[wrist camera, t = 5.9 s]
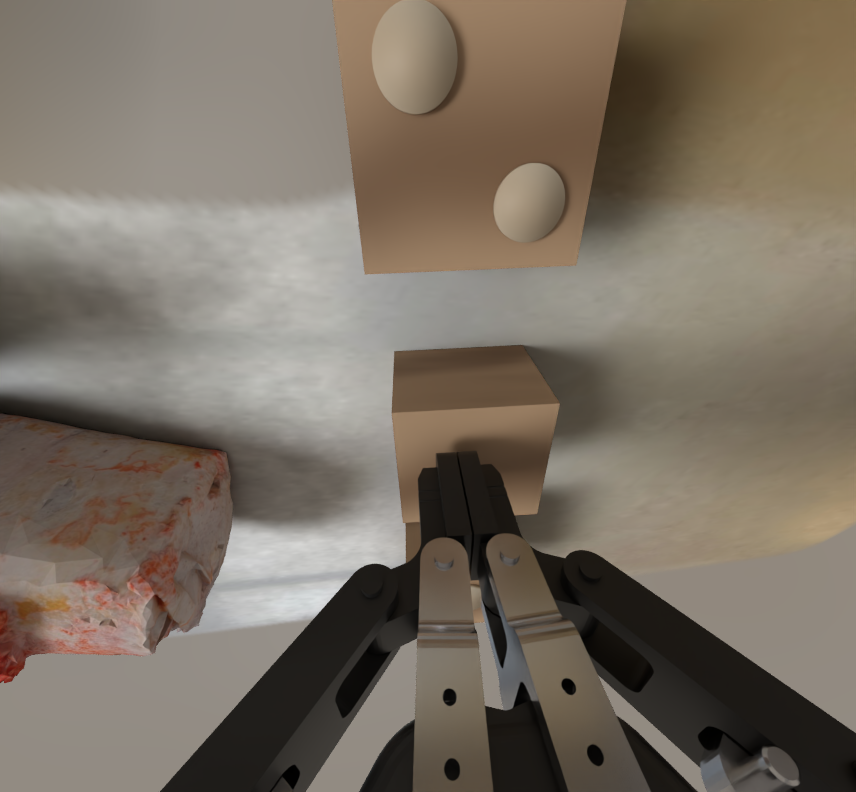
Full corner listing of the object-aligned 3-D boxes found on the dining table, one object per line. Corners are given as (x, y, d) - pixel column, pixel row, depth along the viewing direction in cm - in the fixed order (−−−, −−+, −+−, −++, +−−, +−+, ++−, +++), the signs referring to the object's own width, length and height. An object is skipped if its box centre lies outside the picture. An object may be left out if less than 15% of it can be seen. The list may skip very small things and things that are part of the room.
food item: (252, 438, 19) (138, 648, 11) (244, 531, 23) (157, 736, 15) (-68, 375, 16) (-554, 598, 8) (-14, 495, 20) (-299, 724, 12)
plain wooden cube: (394, 350, 17) (391, 412, 13) (521, 343, 17) (559, 403, 13) (402, 447, 20) (403, 522, 16) (509, 441, 20) (537, 514, 16)
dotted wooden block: (355, 30, 11) (324, -55, 7) (549, 26, 11) (642, -59, 7) (376, 241, 14) (364, 275, 10) (526, 235, 15) (578, 267, 10)
